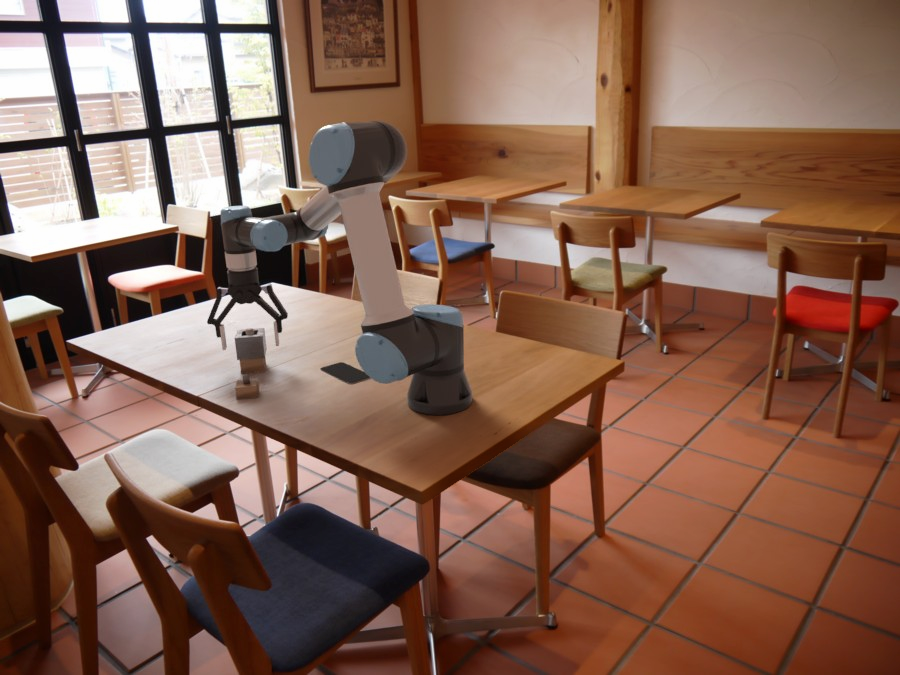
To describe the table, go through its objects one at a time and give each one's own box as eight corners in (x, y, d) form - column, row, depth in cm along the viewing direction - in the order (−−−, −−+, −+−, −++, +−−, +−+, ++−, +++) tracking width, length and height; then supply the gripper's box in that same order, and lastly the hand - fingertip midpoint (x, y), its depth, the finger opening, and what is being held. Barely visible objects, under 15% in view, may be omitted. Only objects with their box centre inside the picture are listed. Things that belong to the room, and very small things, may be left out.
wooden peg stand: (264, 371, 195) (260, 331, 192) (241, 373, 194) (236, 333, 191) (266, 363, 201) (261, 325, 197) (243, 365, 200) (238, 326, 197)
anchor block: (257, 397, 179) (255, 378, 177) (236, 399, 178) (234, 380, 177) (259, 389, 184) (257, 370, 182) (238, 391, 183) (236, 372, 181)
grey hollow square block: (264, 357, 194) (262, 336, 192) (237, 360, 193) (234, 338, 191) (266, 349, 200) (264, 327, 198) (239, 351, 199) (237, 329, 197)
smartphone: (341, 361, 201) (373, 376, 190) (342, 363, 201) (374, 378, 190) (318, 368, 196) (349, 383, 185) (318, 370, 196) (350, 386, 185)
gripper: (292, 261, 194) (299, 338, 201) (193, 267, 191) (204, 345, 197) (291, 268, 187) (299, 347, 194) (188, 274, 184) (200, 354, 190)
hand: (251, 346), depth 196 cm, fingers open, 13 cm apart
